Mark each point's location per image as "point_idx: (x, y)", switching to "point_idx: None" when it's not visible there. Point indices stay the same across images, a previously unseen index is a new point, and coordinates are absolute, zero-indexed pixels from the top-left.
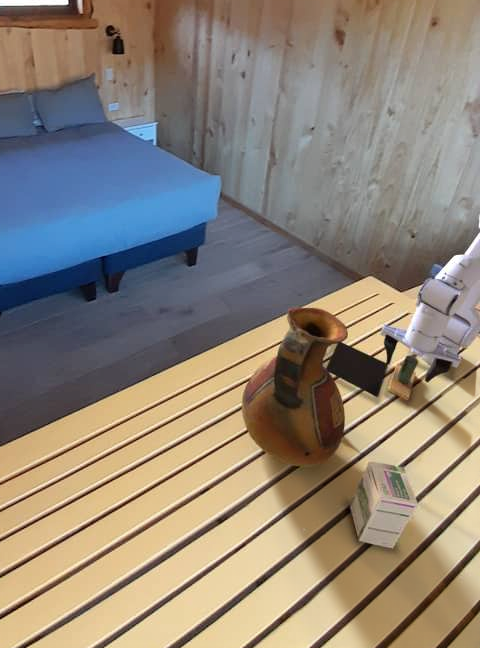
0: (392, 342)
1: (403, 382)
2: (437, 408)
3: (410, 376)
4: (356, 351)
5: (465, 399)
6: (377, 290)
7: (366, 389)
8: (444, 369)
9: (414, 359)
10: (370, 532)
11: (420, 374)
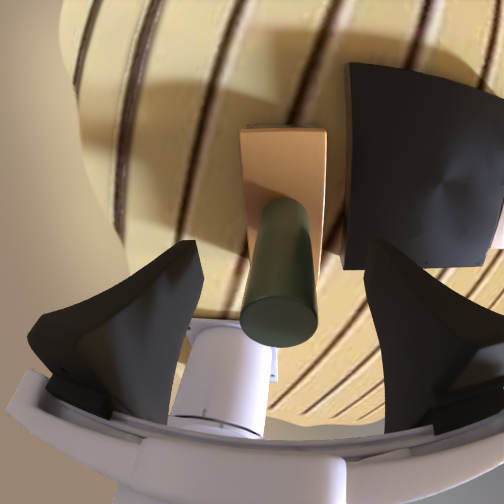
0: (466, 385)
1: (279, 201)
2: (163, 193)
3: (259, 232)
4: (441, 257)
5: None
6: (359, 423)
7: (396, 78)
8: (31, 333)
9: (265, 332)
10: None
11: (242, 293)
